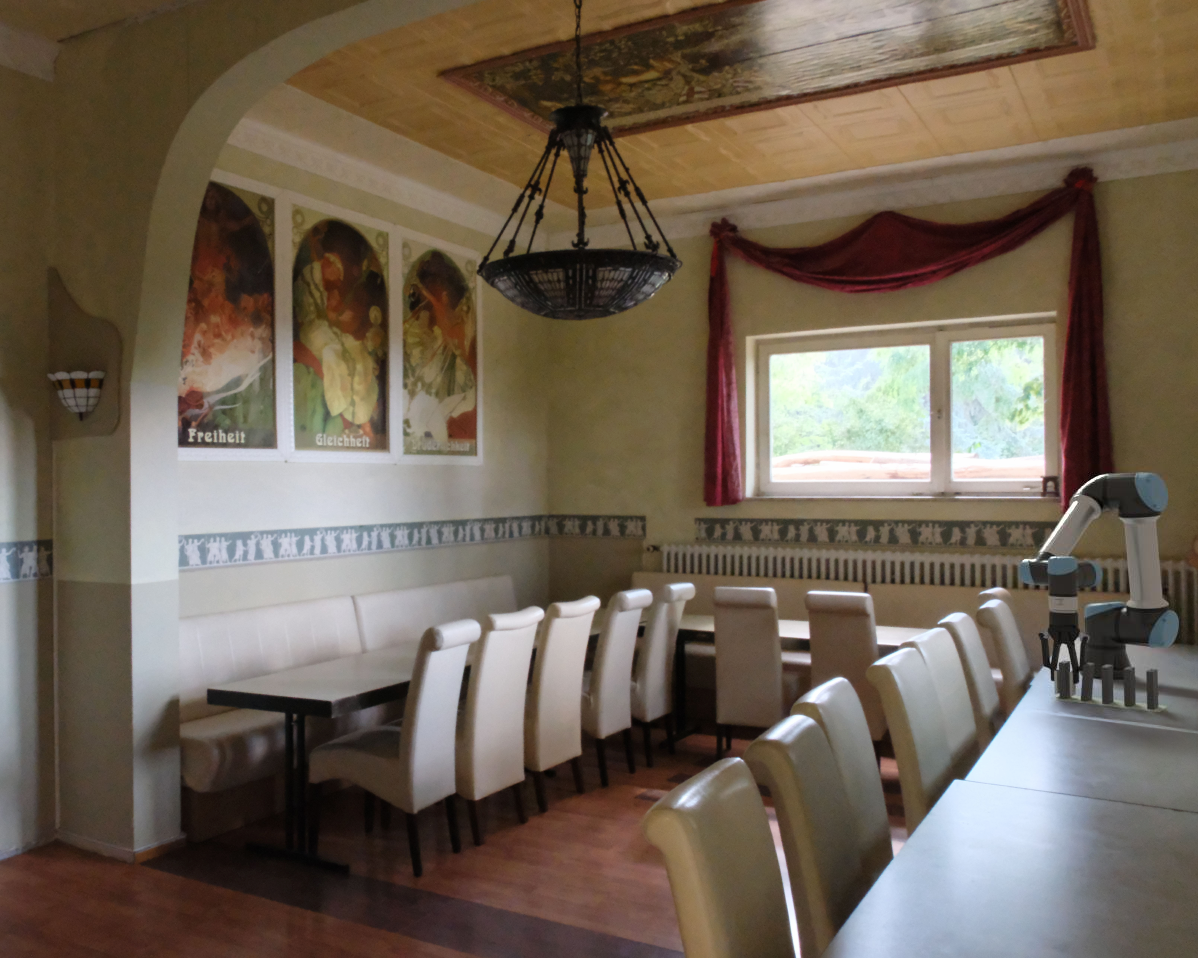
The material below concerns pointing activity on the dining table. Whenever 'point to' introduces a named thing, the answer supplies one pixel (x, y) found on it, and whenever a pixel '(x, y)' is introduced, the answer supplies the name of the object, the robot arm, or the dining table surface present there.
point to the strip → (1114, 704)
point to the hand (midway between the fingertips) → (1065, 693)
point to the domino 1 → (1064, 680)
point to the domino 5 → (1152, 688)
